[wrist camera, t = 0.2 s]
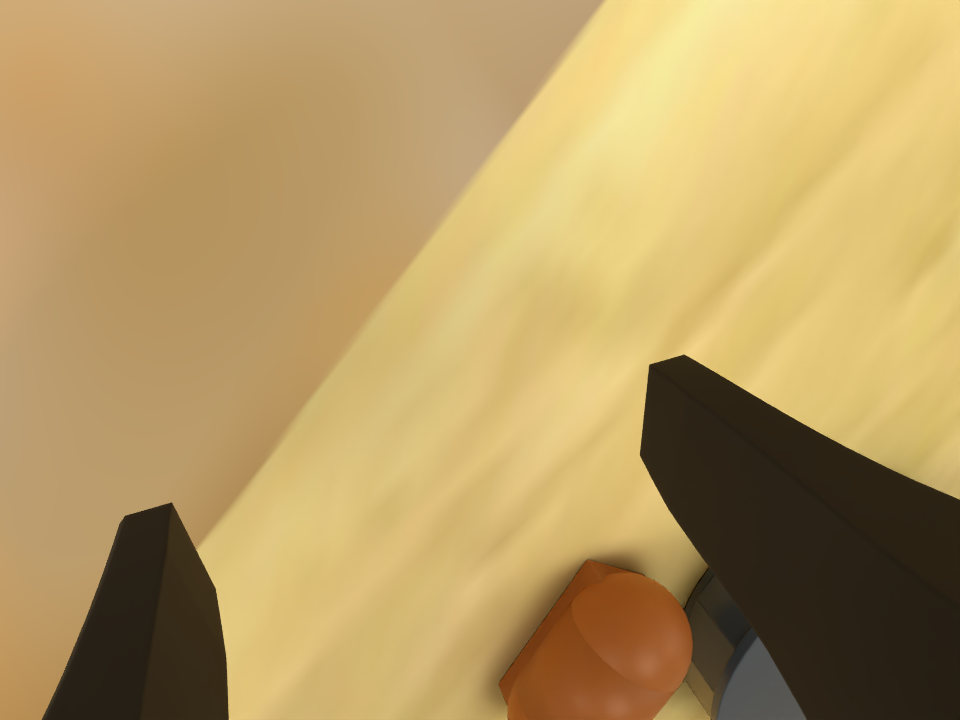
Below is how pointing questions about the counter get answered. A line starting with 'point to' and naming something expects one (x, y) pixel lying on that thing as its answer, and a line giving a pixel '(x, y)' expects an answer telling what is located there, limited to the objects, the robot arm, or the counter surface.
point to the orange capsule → (602, 651)
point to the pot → (712, 635)
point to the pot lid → (753, 686)
